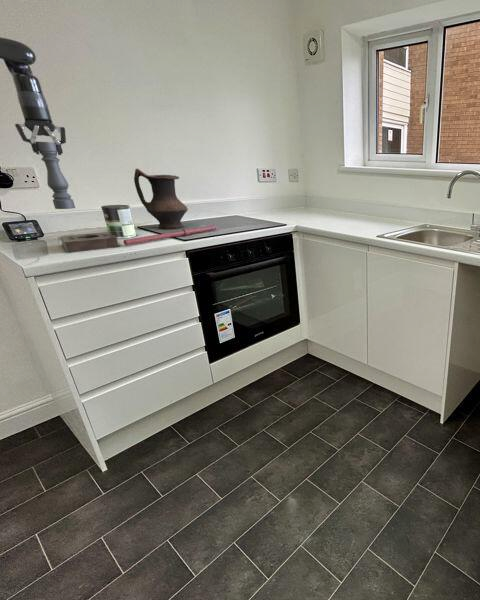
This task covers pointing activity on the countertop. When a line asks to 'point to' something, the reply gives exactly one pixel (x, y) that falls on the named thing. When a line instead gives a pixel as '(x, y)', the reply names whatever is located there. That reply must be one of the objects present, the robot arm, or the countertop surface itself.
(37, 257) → the countertop surface
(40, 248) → the countertop surface
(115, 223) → the coffee can
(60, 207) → the candle holder
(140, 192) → the jug
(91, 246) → the stand
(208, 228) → the red rod
